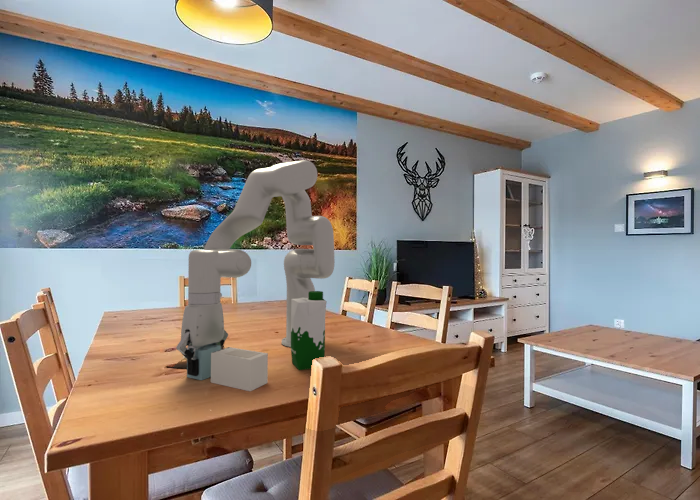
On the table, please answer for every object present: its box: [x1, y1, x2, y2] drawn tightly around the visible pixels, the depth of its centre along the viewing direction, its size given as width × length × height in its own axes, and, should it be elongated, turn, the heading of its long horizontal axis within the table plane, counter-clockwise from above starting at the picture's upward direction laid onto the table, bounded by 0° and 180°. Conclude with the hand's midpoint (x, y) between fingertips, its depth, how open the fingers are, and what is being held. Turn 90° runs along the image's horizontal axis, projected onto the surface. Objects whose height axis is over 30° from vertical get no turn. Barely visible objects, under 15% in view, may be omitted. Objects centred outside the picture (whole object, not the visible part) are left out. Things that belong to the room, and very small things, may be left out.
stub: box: [186, 344, 221, 381], centre depth 94 cm, size 6×5×7 cm
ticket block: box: [210, 346, 269, 392], centre depth 89 cm, size 6×12×7 cm, turn 64°
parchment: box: [166, 344, 225, 370], centre depth 111 cm, size 25×10×1 cm, turn 0°
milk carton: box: [290, 290, 327, 371], centre depth 103 cm, size 9×9×20 cm
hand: (203, 370), depth 94 cm, fingers closed on stub, 6 cm apart
